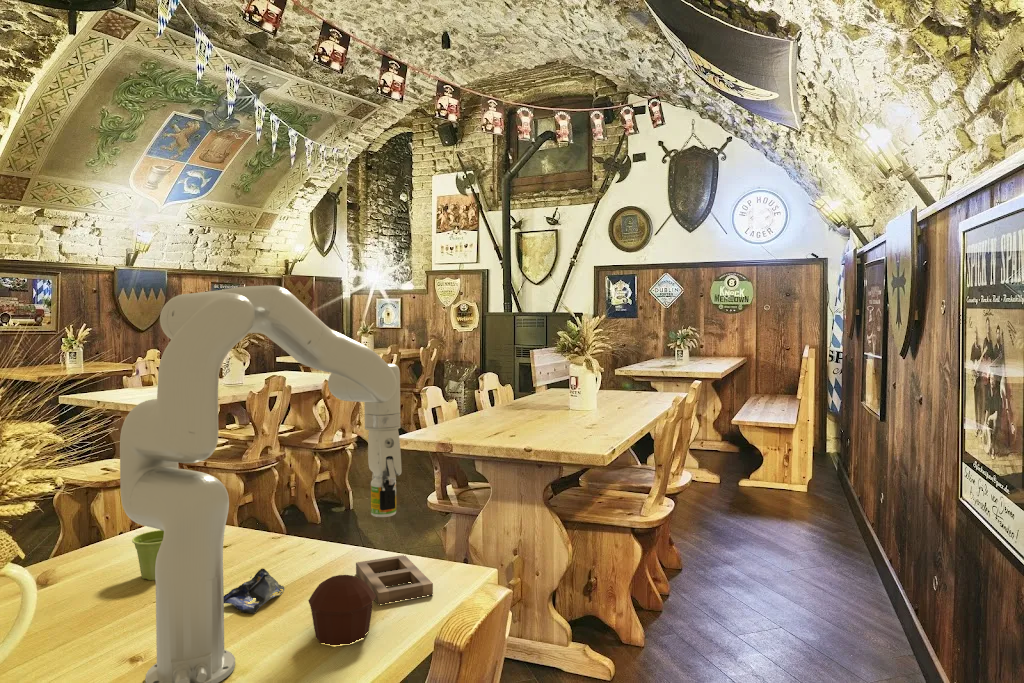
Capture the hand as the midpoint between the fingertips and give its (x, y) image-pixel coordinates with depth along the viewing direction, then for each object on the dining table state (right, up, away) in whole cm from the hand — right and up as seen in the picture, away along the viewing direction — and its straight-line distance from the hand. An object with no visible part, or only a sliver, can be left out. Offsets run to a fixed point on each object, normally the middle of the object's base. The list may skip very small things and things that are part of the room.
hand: (383, 504), depth 146 cm
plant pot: (-50, -16, +2) cm, 52 cm away
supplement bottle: (0, -2, 0) cm, 2 cm away
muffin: (-2, -17, -27) cm, 32 cm away
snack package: (-23, -17, -12) cm, 31 cm away
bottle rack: (+3, -16, -3) cm, 16 cm away
